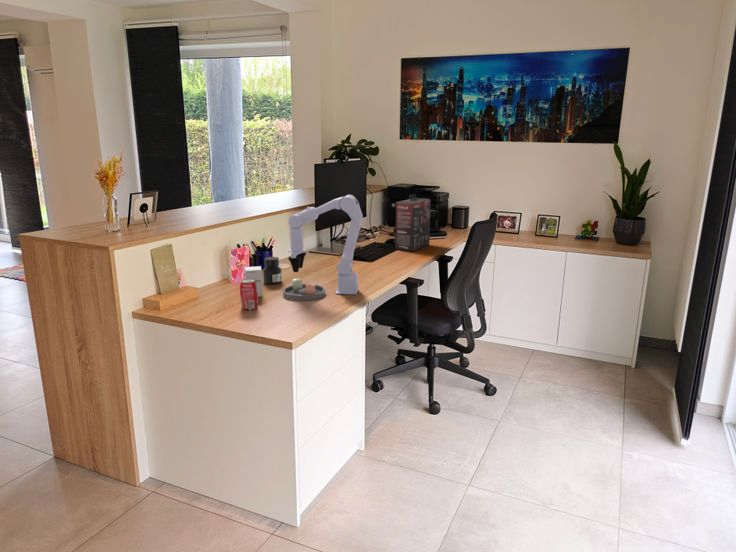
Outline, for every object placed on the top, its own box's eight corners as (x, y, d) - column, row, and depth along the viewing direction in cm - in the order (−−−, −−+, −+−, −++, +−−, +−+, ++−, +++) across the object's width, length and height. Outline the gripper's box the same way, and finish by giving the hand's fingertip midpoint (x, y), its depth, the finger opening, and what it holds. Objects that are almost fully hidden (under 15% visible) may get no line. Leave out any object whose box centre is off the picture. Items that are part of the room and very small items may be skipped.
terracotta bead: (316, 294, 248) (316, 283, 247) (314, 297, 244) (313, 286, 242) (306, 294, 248) (306, 283, 247) (304, 297, 244) (304, 286, 243)
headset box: (413, 242, 362) (414, 192, 353) (430, 245, 356) (431, 193, 347) (394, 249, 342) (395, 195, 333) (412, 252, 335) (413, 197, 327)
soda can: (251, 304, 236) (249, 277, 233) (261, 307, 232) (260, 280, 229) (237, 308, 231) (235, 280, 228) (248, 311, 227) (246, 283, 224)
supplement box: (246, 298, 245) (244, 270, 242) (245, 293, 252) (243, 266, 249) (263, 297, 247) (261, 269, 244) (261, 292, 254) (260, 265, 250)
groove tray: (328, 289, 258) (328, 284, 258) (320, 301, 240) (320, 296, 240) (289, 287, 261) (289, 283, 260) (278, 299, 243) (277, 295, 242)
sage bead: (303, 289, 256) (302, 278, 255) (301, 291, 252) (300, 281, 251) (294, 288, 257) (293, 278, 256) (291, 291, 253) (291, 280, 251)
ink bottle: (277, 285, 265) (276, 261, 262) (260, 284, 266) (259, 260, 263) (284, 280, 274) (283, 256, 271) (268, 279, 276) (266, 255, 273)
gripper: (292, 237, 258) (293, 265, 261) (283, 243, 244) (285, 273, 247) (307, 237, 257) (308, 266, 260) (299, 244, 243) (300, 274, 246)
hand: (297, 269), depth 254 cm, fingers open, 7 cm apart
